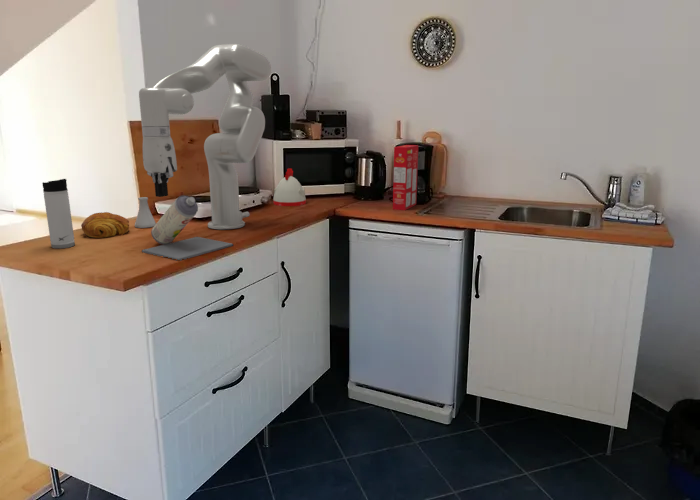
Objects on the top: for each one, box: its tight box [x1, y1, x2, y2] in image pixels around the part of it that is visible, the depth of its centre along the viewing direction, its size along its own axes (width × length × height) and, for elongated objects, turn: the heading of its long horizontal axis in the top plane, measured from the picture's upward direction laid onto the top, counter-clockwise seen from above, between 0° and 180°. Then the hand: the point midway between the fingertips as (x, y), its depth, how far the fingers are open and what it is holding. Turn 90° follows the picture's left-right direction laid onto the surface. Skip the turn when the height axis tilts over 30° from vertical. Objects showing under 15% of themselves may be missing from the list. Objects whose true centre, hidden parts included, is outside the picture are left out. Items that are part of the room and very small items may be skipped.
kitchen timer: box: [272, 168, 307, 207], centre depth 229 cm, size 14×14×15 cm
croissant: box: [81, 211, 130, 239], centre depth 175 cm, size 14×16×8 cm
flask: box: [134, 196, 157, 229], centre depth 185 cm, size 7×7×10 cm
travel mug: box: [41, 178, 76, 250], centre depth 156 cm, size 6×7×20 cm
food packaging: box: [392, 144, 419, 211], centre depth 221 cm, size 15×5×25 cm, turn 155°
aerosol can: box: [150, 195, 199, 245], centre depth 156 cm, size 7×7×20 cm
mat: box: [141, 236, 234, 261], centre depth 156 cm, size 20×16×1 cm
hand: (161, 196), depth 158 cm, fingers closed
